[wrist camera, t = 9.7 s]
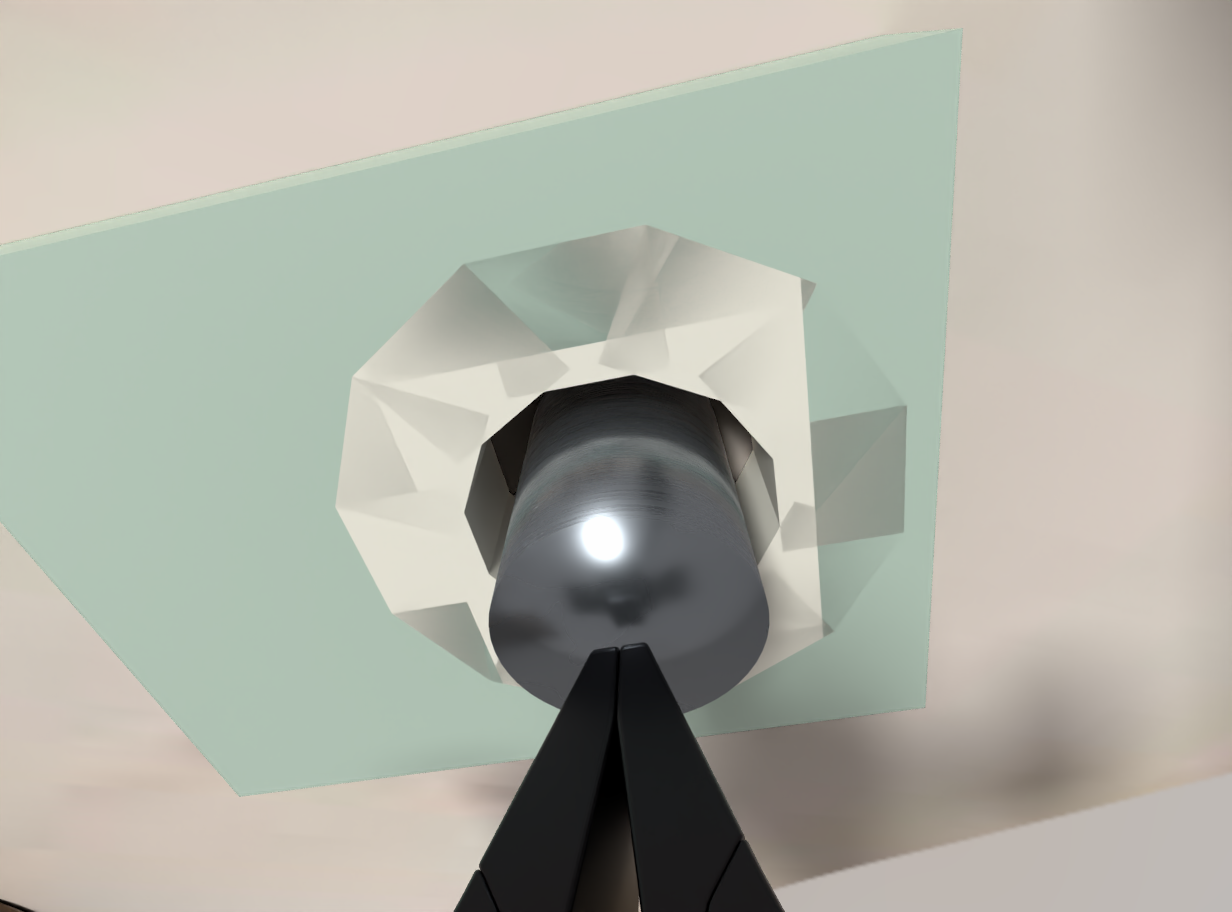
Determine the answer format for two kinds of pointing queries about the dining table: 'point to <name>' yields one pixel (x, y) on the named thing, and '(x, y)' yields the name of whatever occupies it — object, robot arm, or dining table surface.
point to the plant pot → (8, 908)
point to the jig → (490, 404)
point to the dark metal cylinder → (627, 545)
